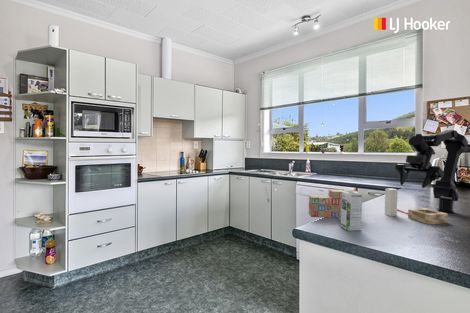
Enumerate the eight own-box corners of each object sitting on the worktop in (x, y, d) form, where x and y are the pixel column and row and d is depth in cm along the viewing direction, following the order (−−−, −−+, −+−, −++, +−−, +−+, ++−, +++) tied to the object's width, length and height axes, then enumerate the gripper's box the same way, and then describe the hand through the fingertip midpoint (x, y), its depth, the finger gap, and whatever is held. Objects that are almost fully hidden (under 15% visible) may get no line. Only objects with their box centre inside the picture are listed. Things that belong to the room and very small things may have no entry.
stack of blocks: (310, 217, 118) (311, 190, 117) (308, 214, 124) (309, 188, 124) (359, 219, 116) (360, 192, 115) (354, 215, 122) (355, 189, 121)
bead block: (424, 216, 121) (425, 208, 121) (447, 222, 111) (447, 213, 111) (408, 218, 118) (408, 209, 118) (429, 224, 109) (429, 215, 108)
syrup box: (339, 226, 104) (340, 190, 104) (353, 226, 105) (354, 190, 104) (347, 231, 99) (348, 193, 98) (361, 230, 99) (363, 193, 99)
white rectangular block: (390, 213, 126) (391, 188, 125) (396, 215, 122) (397, 189, 122) (384, 214, 125) (385, 188, 124) (390, 216, 121) (391, 189, 121)
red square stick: (391, 208, 137) (391, 207, 137) (392, 208, 137) (393, 207, 137) (409, 215, 123) (409, 214, 123) (411, 215, 123) (411, 214, 123)
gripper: (394, 147, 126) (382, 175, 123) (438, 148, 109) (426, 179, 106) (405, 160, 131) (394, 186, 127) (449, 162, 114) (438, 192, 111)
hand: (411, 186), depth 118 cm, fingers open, 9 cm apart
